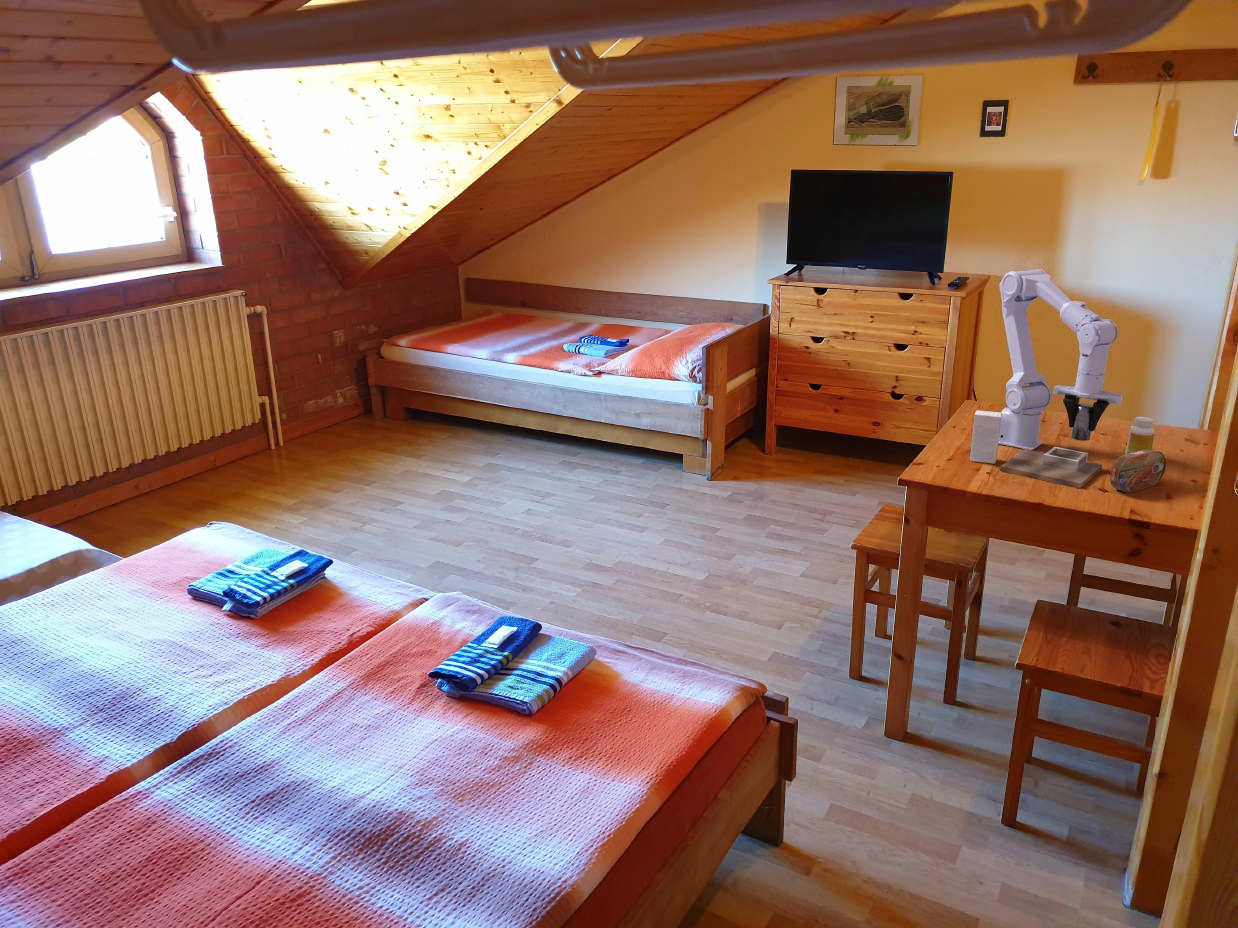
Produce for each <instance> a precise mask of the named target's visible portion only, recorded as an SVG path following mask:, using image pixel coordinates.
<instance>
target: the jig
mask: <svg viewBox="0 0 1238 928" xmlns="http://www.w3.org/2000/svg"><path fill="white" fill-rule="evenodd" d="M1088 455H1089V453H1088V452H1083V451H1079V450H1073V449H1068V448H1062V447H1059V446H1054V447H1052V448H1051V449H1050V450H1048V451H1047V452H1042V451H1041V452H1040V451H1037V450H1036V451H1035V450H1027V449H1023V450H1021V451H1020V452H1018V453H1017V454H1015V455H1014V456H1013V457H1011V458H1010V459H1008V460H1007V461H1005V462H1004V463H1003V464H1001V465H1000V467H999V471H1000V472H1003V473H1008V474H1012V475H1013V474H1014V475H1016V476H1017V475H1018V476H1022V477H1027V478H1030V479H1031V478H1032V479H1036V480H1040V481H1043V482H1044V481H1046V482H1050V483H1054V484H1058V485H1064V486H1067V487H1072V488H1077V489H1082V488H1083V487H1084V486H1085V485H1086V484H1087V483H1088V482H1089V481H1091V479H1092V478H1094V477H1095V476H1096V475H1097V474H1098V473H1099V472H1100V471H1102V469H1103V464H1102V463H1101V464H1100V463H1096V462H1091V461H1088Z"/></svg>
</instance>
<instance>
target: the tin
mask: <svg viewBox="0 0 1238 928" xmlns="http://www.w3.org/2000/svg"><path fill="white" fill-rule="evenodd" d="M1166 467H1167V462H1166V457H1165V455H1164V453H1163V452H1161V451H1159V450H1153V449H1152V450H1142V451H1138V452H1134V453H1129V454H1122V455H1120V456H1118V457H1117V458H1116V459H1115V461H1114V462H1113V464H1112V465H1111V469H1110V475H1109V482H1110V484H1111V487H1112V488H1114V489H1115V490H1118V491H1122V492H1124V493H1131V492H1135V491H1140V490H1143V489H1147V488H1151V487H1154V486H1156V485H1157V484H1158V483H1159V482H1160V481H1161V479H1162V478H1163V476H1164V473H1165V471H1166Z"/></svg>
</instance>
